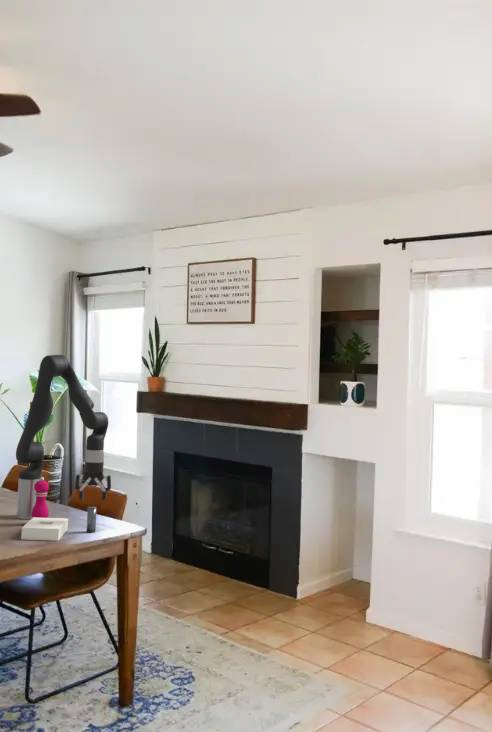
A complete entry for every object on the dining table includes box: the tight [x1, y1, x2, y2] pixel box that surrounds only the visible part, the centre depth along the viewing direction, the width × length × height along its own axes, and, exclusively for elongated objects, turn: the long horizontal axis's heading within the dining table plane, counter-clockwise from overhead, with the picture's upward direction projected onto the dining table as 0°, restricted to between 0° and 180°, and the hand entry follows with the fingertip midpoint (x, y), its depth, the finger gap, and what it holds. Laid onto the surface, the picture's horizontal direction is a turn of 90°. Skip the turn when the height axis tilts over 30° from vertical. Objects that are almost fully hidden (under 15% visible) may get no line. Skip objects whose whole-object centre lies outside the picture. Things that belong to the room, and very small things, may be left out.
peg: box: [85, 506, 98, 534], centre depth 294 cm, size 4×4×10 cm
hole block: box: [20, 517, 69, 542], centre depth 285 cm, size 20×14×4 cm
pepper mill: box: [31, 476, 50, 518], centre depth 303 cm, size 7×7×20 cm
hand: (92, 500), depth 293 cm, fingers open, 8 cm apart
